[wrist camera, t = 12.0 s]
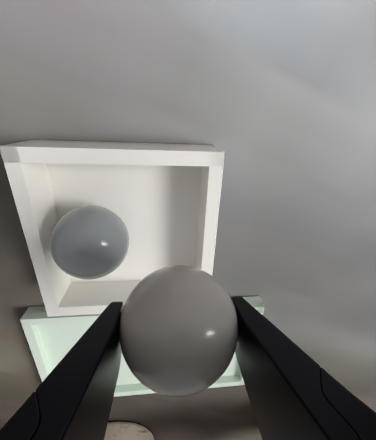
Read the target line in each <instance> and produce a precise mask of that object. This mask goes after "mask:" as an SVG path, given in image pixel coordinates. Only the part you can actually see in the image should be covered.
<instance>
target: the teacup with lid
mask: <svg viewBox="0 0 376 440" xmlns="http://www.w3.org/2000/svg"><path fill="white" fill-rule="evenodd" d="M104 440H154V437H153V435H152V433H151V432H150V431H149V430H148V429H147V428H145V427H144V426H142V425H139V424H136V423H132V422H122V421H121V422H108V424H107V428H106V433H105V437H104Z"/></svg>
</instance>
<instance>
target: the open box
mask: <svg viewBox="0 0 376 440" xmlns="http://www.w3.org/2000/svg"><path fill="white" fill-rule="evenodd" d="M0 151H1V155H2V158H3V162H4V165H5V169H6V172H7V176H8V179H9V183H10V186H11V190H12V193H13V197H14V200H15V204H16V207H17V211H18V214H19V218H20V221H21V225H22V228H23V232H24V235H25V239H26V242H27V246H28V249H29V253H30V256H31V260H32V263H33V267H34V270H35V274H36V277H37V281H38V284H39V288H40V291H41V295H42V298H43V302H44V305H45V309H46V312H47V316H48V317H53V316H72V315H91V314H101V313H102V312H103V311H104V310H105V309H106V307H107V306H108V305H109V304H110V303H111V302H118V301H122V302H123V305H124V304H125V302H126V300H127V298H128V296H129V294H130V293H131V292H132V290H133V289H134V288H135V286H136V285H137V284H138V283H139V282H140V281H141V280H142V279H143V278H145V277H146V276H147V275H149V274H150V273H152V272H154V271H156V270H158V269H161V268H164V267H168V266H173V265H185V266H192V267H195V268H198V269H201V270H203V271H205V272H207V273H208V274H210V275H212V272H213V262H214V253H215V243H216V233H217V223H218V214H219V204H220V194H221V184H222V175H223V165H224V155H225V152H224V151H222V150H220V149H219V148H217V147H215V146H213V145H203V144H170V143H137V142H103V141H70V140H37V139H33V140H28V141H23V142H18V143H13V144H7V145H2V146H0ZM89 205H93V206H100V207H104V208H107V209H109V210H111V211H113V212H114V213H115V214H117V215H118V216H119V217H120V218H121V219H122V221H123V222H124V224H125V225H126V227H127V230H128V233H129V249H128V252H127V255H126V257H125V259H124V261H123V262H122V263H121V265H120V266H119V267H118V268H117V269H116V270H114V271H113V272H111V273H110V274H108V275H106V276H104V277H101V278H97V279H88V280H86V279H79V278H75V277H72V276H70V275H68V274H66V273H65V272H63V271H62V270H61V269H60V268H59V267H58V266H57V265H56V263H55V262H54V260H53V258H52V256H51V253H50V248H49V240H50V235H51V232H52V229H53V227H54V226H55V224H56V222H57V221H58V220H59V219H60V218H61V217H62V216H63V215H64V214H66V213H67V212H69V211H71V210H73V209H75V208H78V207H81V206H89Z"/></svg>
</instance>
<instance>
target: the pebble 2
mask: <svg viewBox="0 0 376 440" xmlns="http://www.w3.org/2000/svg"><path fill="white" fill-rule="evenodd" d="M119 341H120V346H121V351H122V354H123V357H124V359H125V362H126V364H127V366H128V367H129V369H130V371H131V372H132V374H133V375H134V376H135V377H136V378H137V379H138V380H139V381H140V382H141V383H142V384H143V385H144V386H146V387H147V388H149V389H150V390H152V391H154V392H156V393H159V394H162V395H166V396H171V397H183V396H189V395H193V394H196V393H199V392H201V391H203V390H205V389H207V388H208V387H210V386H211V385H213V384H214V383H215V382H216V381H217V380H218V379H219V378H220V377H221V376H222V375H223V373H224V372H225V371H226V369H227V368H228V366H229V364H230V363H231V360H232V358H233V356H234V353H235V350H236V346H237V341H238V320H237V314H236V310H235V307H234V304H233V302H232V300H231V298H230V296H229V294H228V292H227V291H226V290H225V288H224V287H223V285H222V284H221V283H220V282H219V281H218V280H217V279H215V278H214V277H213V276H212V275H210V274H208V273H207V272H205V271H203V270H201V269H198V268H195V267H192V266H185V265H173V266H168V267H164V268H161V269H158V270H156V271H154V272H152V273H150V274H149V275H147V276H146V277H145V278H143V279H142V280H141V281H140V282H139V283H138V284H137V285H136V286H135V288H134V289H133V290H132V292H131V293H130V294H129V296H128V298H127V300H126V302H125V304H124V307H123V310H122V313H121V317H120V324H119Z"/></svg>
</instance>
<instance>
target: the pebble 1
mask: <svg viewBox="0 0 376 440" xmlns="http://www.w3.org/2000/svg"><path fill="white" fill-rule="evenodd" d="M49 248H50V253H51V256H52V258H53V260H54V262H55V263H56V265H57V266H58V267H59V268H60V269H61V270H62V271H63V272H65V273H66V274H68V275H70V276H72V277H75V278H79V279H86V280H88V279H97V278H101V277H104V276H106V275H108V274H110V273H111V272H113V271H114V270H116V269H117V268H118V267H119V266H120V265H121V263H122V262H123V261H124V259H125V257H126V255H127V252H128V249H129V233H128V230H127V227H126V225H125V224H124V222H123V221H122V219H121V218H120V217H119V216H118V215H117V214H115V213H114V212H113V211H111V210H109V209H107V208H104V207H100V206H93V205H89V206H81V207H78V208H75V209H73V210H71V211H69V212H67V213H66V214H64V215H63V216H62V217H61V218H60V219H59V220H58V221H57V222H56V224H55V226H54V227H53V229H52V232H51V235H50V240H49Z"/></svg>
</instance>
